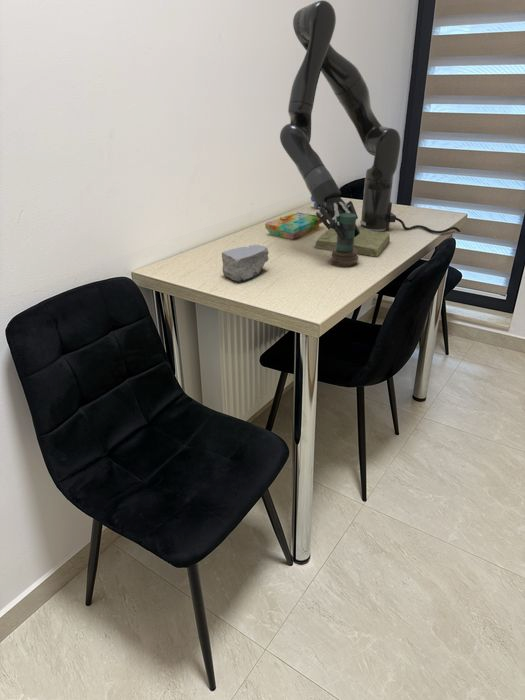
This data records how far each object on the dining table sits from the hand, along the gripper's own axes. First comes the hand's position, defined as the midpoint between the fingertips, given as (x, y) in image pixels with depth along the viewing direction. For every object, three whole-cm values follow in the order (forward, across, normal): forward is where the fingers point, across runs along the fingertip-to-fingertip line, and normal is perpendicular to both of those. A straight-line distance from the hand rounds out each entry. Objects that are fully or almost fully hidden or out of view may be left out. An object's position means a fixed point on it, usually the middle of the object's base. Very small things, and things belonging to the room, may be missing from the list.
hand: (351, 236), depth 146 cm
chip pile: (+4, 0, +7) cm, 8 cm away
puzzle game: (-18, +13, +30) cm, 38 cm away
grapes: (-29, +44, +40) cm, 67 cm away
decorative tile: (-2, +16, +14) cm, 21 cm away
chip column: (+2, 0, +4) cm, 4 cm away
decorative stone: (-4, -28, +16) cm, 32 cm away
